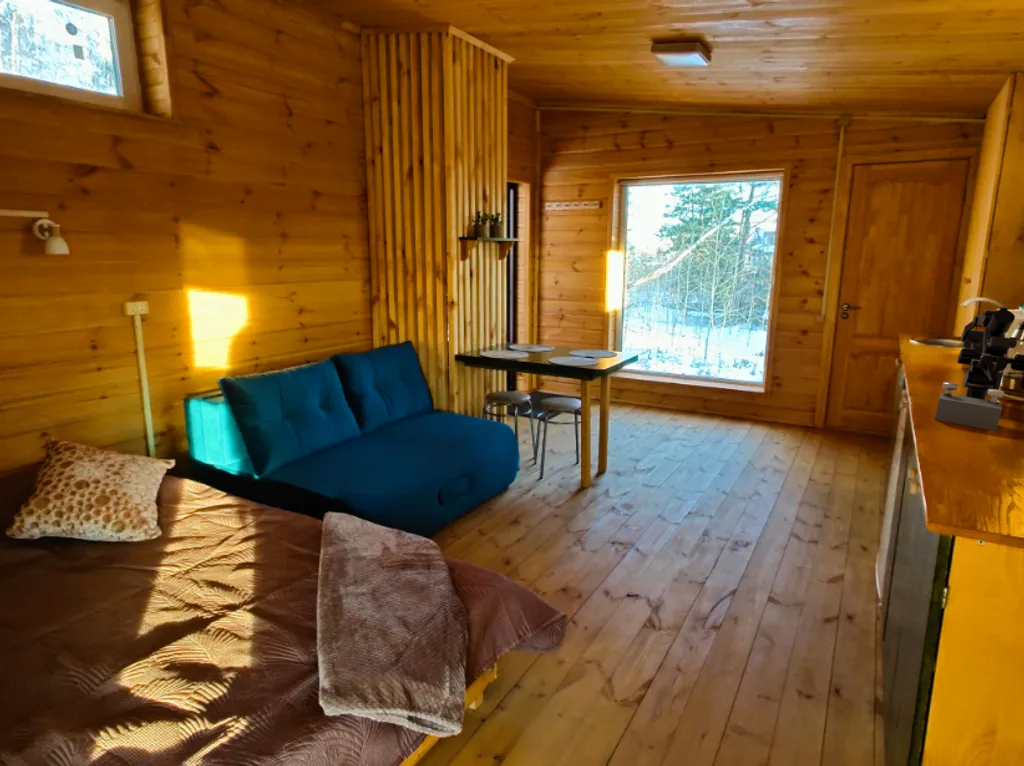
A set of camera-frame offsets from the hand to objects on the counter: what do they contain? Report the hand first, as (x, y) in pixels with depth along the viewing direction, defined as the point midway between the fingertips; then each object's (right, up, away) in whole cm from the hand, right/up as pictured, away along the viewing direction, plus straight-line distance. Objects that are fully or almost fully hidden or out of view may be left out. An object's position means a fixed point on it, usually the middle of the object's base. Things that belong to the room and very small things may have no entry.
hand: (992, 380), depth 207 cm
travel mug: (+27, -5, +40) cm, 48 cm away
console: (-11, -13, -3) cm, 17 cm away
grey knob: (-14, -5, +1) cm, 15 cm away
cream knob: (-4, -7, -6) cm, 10 cm away
